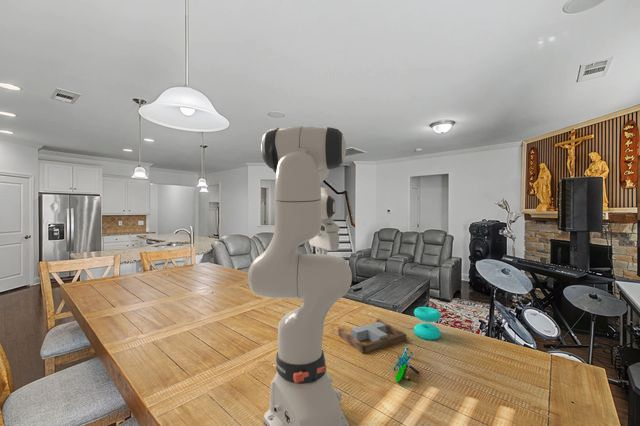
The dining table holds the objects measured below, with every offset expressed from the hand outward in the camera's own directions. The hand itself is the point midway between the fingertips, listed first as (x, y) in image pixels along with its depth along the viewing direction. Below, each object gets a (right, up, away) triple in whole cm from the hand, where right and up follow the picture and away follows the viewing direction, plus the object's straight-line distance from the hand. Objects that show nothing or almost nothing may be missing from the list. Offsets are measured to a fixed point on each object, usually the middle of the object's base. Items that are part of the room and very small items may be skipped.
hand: (322, 258), depth 119 cm
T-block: (+20, -29, -11) cm, 37 cm away
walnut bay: (+19, -29, -9) cm, 36 cm away
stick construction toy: (+25, -30, -34) cm, 52 cm away
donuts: (+41, -29, -7) cm, 51 cm away
